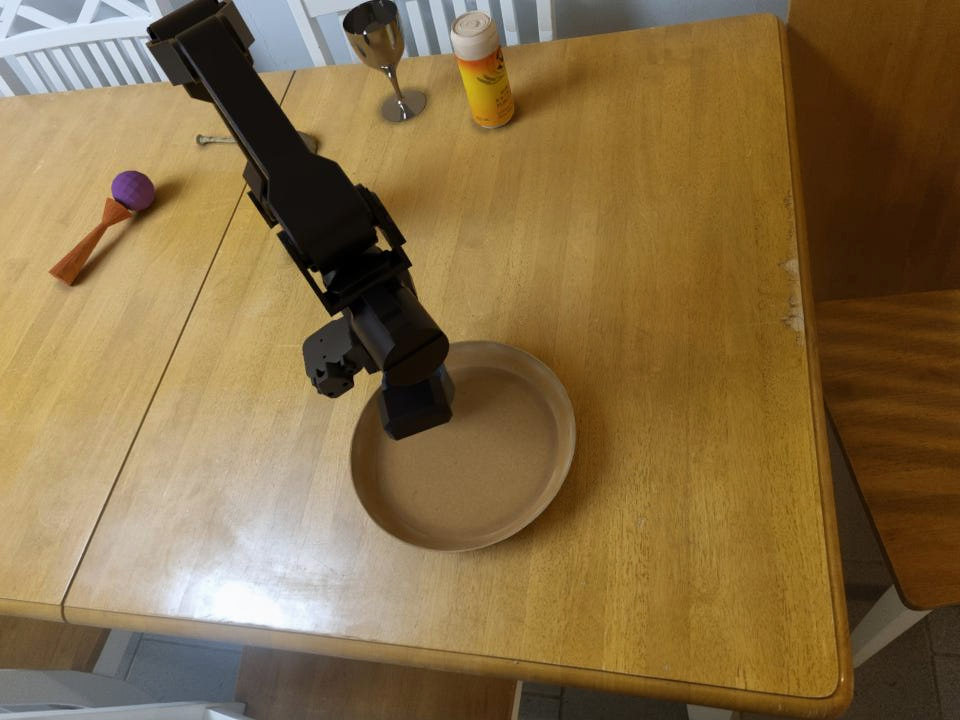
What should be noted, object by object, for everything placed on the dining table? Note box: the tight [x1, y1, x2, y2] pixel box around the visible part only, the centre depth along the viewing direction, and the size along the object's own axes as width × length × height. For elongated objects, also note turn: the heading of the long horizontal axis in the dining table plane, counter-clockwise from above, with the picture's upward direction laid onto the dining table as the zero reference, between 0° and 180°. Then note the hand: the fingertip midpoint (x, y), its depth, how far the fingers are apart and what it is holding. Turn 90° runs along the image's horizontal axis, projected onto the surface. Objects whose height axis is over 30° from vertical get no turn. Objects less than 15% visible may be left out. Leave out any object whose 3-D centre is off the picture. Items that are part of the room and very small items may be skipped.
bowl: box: [381, 362, 455, 405], centre depth 77 cm, size 7×7×4 cm
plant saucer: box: [348, 339, 577, 554], centre depth 77 cm, size 24×24×3 cm
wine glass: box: [342, 0, 427, 123], centre depth 106 cm, size 8×8×15 cm
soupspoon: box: [195, 130, 318, 154], centre depth 114 cm, size 22×3×7 cm
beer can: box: [450, 9, 516, 129], centre depth 100 cm, size 6×6×15 cm
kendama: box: [47, 170, 156, 287], centre depth 109 cm, size 6×6×20 cm
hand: (423, 389), depth 78 cm, fingers open, 9 cm apart
